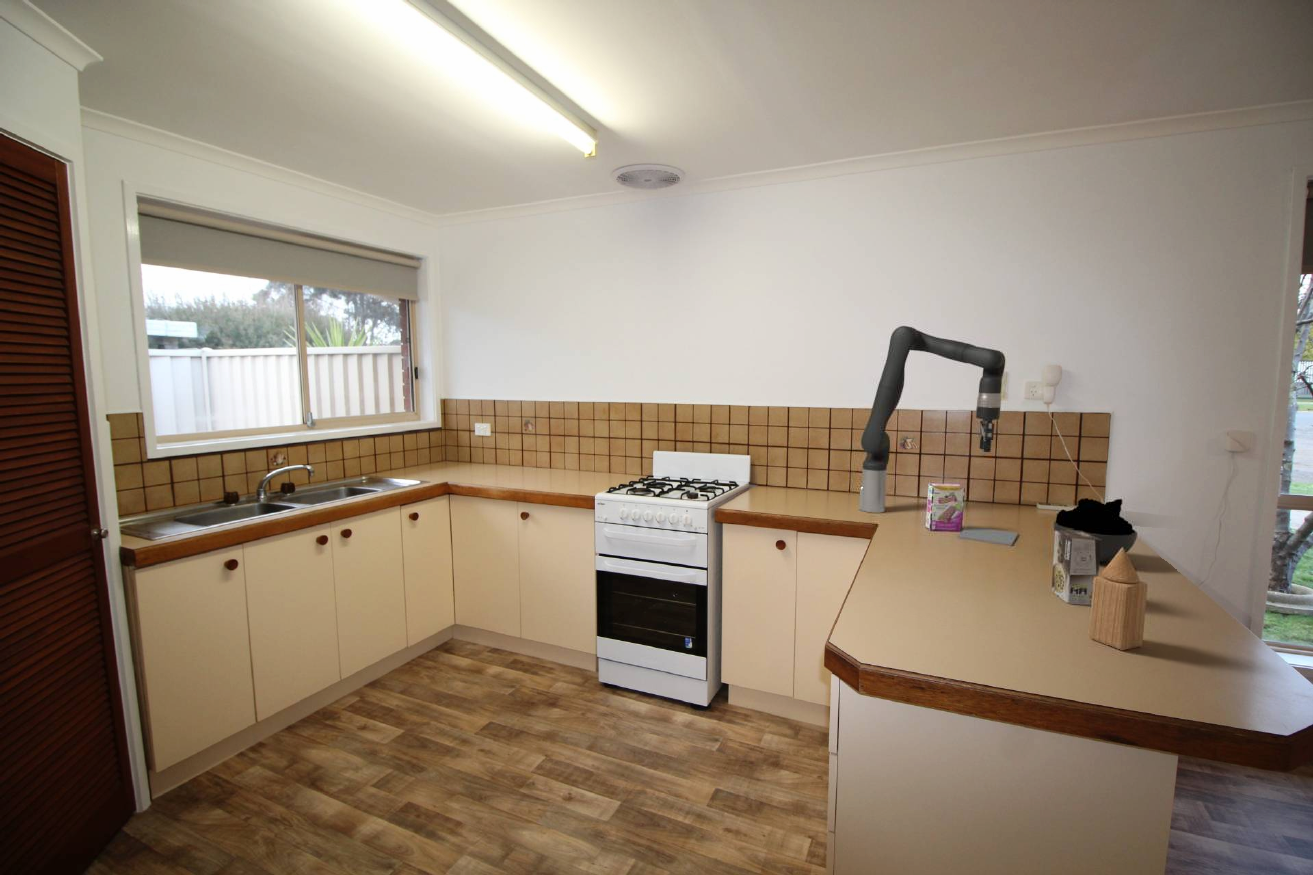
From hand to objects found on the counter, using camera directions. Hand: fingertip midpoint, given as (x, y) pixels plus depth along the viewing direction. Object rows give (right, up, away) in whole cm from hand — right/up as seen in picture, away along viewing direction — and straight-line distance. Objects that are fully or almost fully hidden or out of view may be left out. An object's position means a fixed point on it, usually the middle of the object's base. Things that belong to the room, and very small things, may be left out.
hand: (984, 450), depth 214 cm
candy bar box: (-16, -29, -2) cm, 33 cm away
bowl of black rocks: (+11, -32, -38) cm, 51 cm away
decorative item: (-26, -37, -94) cm, 104 cm away
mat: (-5, -29, -11) cm, 32 cm away
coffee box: (-17, -35, -69) cm, 79 cm away
